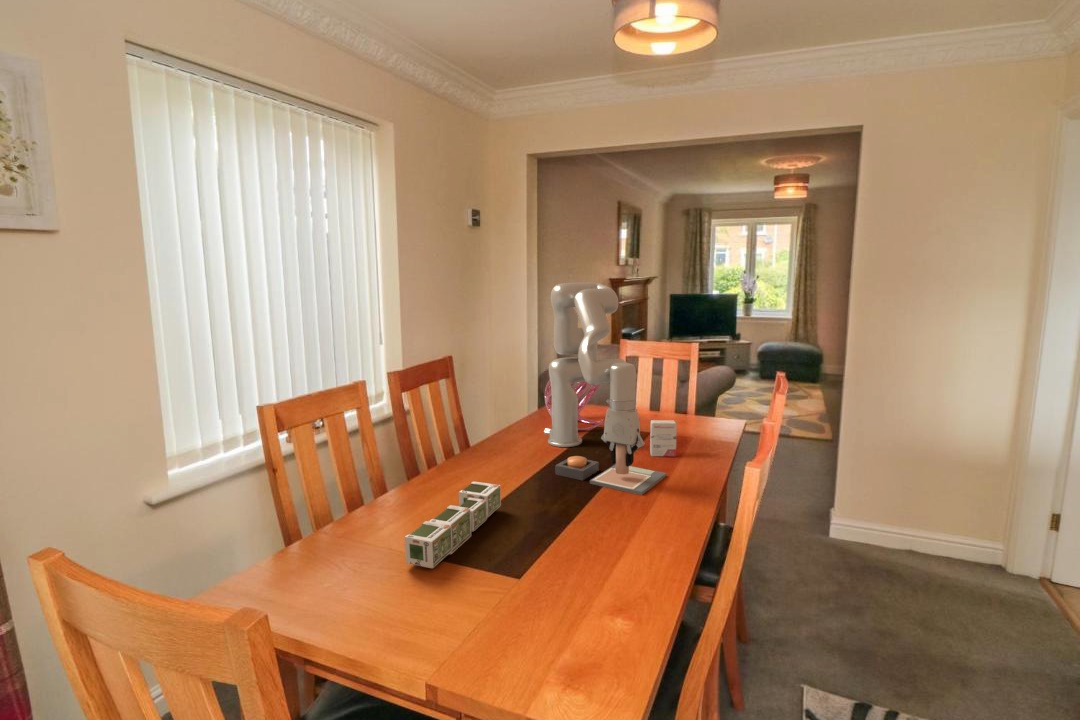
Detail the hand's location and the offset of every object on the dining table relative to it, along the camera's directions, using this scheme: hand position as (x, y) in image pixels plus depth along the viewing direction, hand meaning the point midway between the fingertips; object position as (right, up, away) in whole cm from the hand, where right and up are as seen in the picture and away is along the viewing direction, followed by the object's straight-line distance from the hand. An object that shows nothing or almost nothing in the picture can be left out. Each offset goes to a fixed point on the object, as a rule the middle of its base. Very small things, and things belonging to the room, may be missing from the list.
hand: (622, 463), depth 179 cm
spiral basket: (-10, +4, +62) cm, 63 cm away
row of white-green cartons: (-46, -12, -33) cm, 57 cm away
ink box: (+18, -2, +26) cm, 31 cm away
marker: (0, -3, 0) cm, 3 cm away
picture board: (+2, -6, +3) cm, 6 cm away
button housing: (-13, -5, +9) cm, 17 cm away
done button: (-13, -3, +9) cm, 16 cm away
